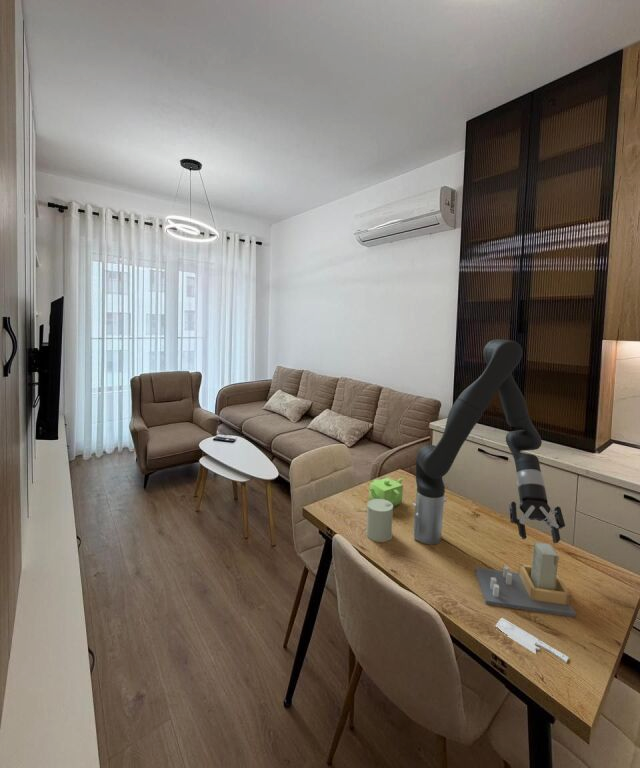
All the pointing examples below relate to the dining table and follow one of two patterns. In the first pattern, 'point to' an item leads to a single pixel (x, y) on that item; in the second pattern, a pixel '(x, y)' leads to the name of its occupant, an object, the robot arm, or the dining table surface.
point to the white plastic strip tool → (526, 639)
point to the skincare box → (544, 566)
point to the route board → (523, 591)
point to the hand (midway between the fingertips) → (540, 540)
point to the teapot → (387, 490)
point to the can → (379, 520)
